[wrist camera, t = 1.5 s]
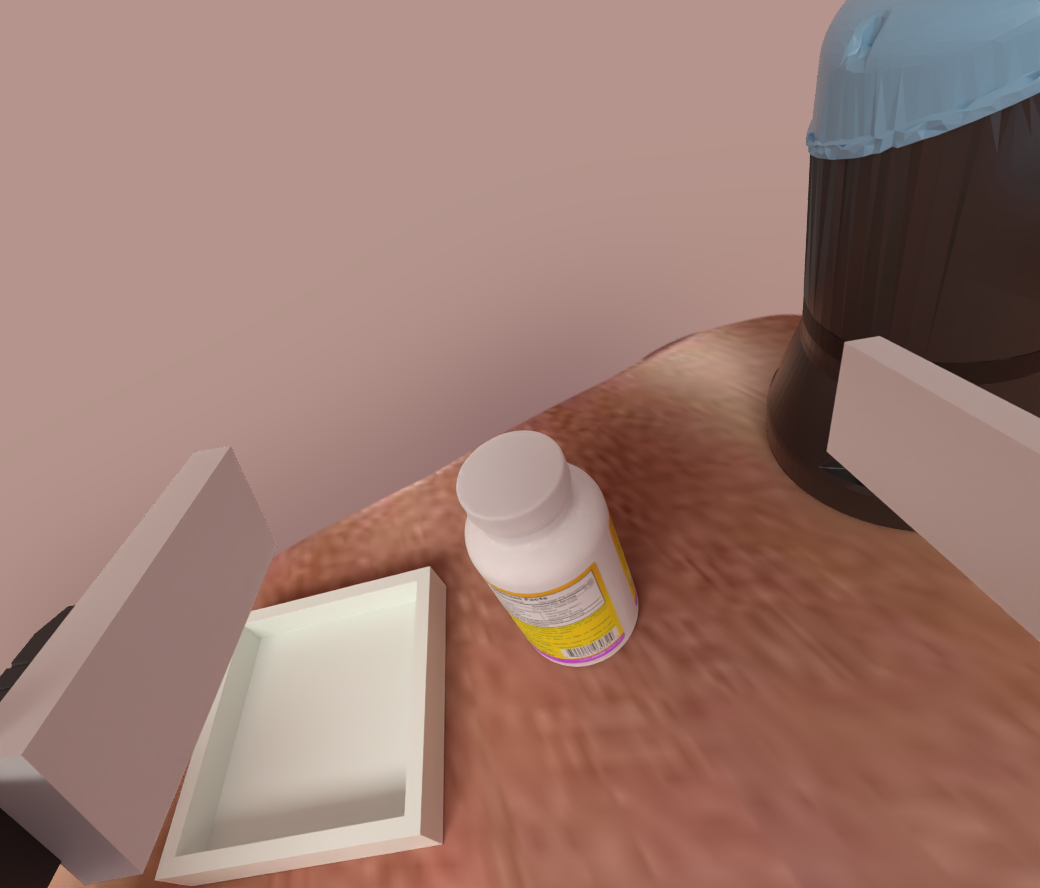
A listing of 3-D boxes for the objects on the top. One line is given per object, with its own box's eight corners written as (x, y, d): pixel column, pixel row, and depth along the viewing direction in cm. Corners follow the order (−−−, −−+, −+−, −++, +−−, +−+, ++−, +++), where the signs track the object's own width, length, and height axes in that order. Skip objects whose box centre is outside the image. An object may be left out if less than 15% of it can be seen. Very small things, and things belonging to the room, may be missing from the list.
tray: (446, 586, 36) (430, 566, 34) (442, 844, 26) (420, 834, 25) (258, 632, 38) (234, 615, 36) (191, 886, 28) (154, 880, 27)
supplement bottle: (559, 546, 35) (489, 399, 26) (659, 583, 32) (617, 427, 23) (503, 641, 32) (403, 511, 23) (607, 694, 28) (535, 563, 20)
